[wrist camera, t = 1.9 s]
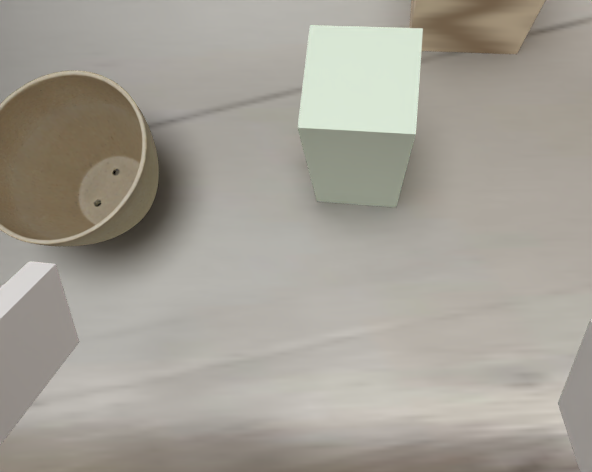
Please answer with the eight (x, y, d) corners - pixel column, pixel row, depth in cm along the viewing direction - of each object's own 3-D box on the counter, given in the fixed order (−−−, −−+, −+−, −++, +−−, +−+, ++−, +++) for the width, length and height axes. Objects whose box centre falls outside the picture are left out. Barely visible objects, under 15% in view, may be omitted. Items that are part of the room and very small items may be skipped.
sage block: (316, 201, 33) (297, 127, 22) (324, 129, 34) (309, 25, 23) (396, 207, 32) (415, 134, 21) (401, 133, 33) (422, 28, 22)
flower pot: (174, 108, 35) (130, 48, 28) (202, 244, 33) (161, 215, 26) (39, 146, 36) (-37, 97, 29) (56, 283, 34) (-22, 265, 27)
